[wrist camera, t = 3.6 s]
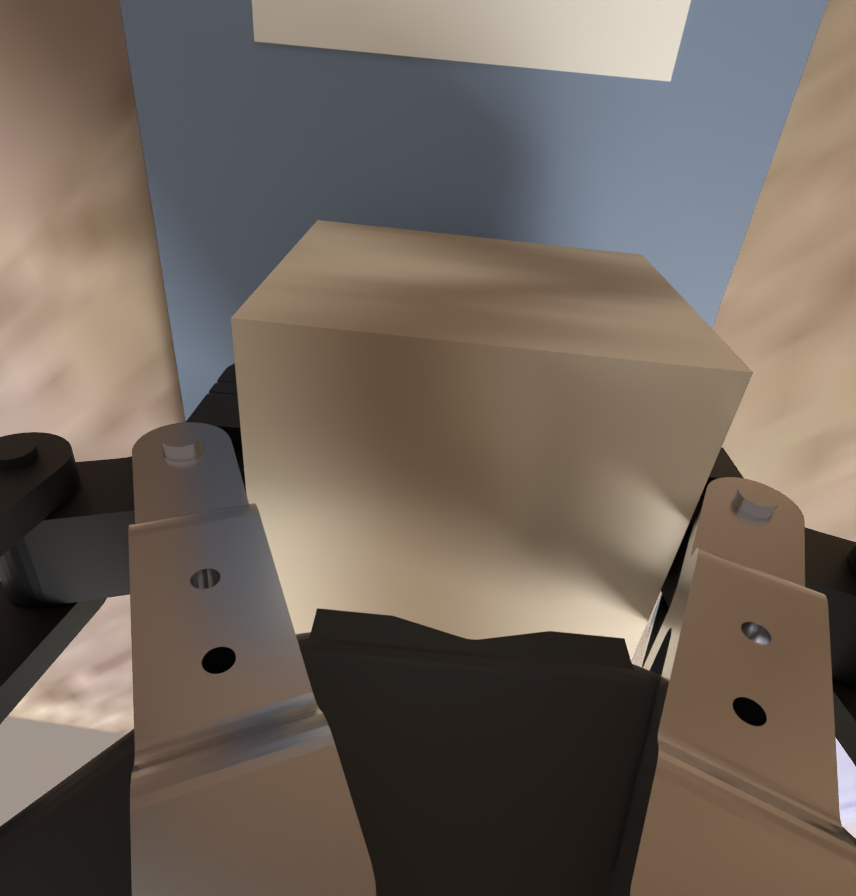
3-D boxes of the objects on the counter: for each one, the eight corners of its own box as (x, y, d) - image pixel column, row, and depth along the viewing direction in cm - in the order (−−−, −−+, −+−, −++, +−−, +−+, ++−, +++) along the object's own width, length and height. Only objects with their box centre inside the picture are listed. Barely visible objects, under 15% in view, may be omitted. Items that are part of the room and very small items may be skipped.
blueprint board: (1096, -873, 7) (1190, -1010, 6) (595, 616, 21) (602, 642, 20) (-5, -1025, 7) (-73, -1189, 6) (224, 588, 21) (214, 613, 20)
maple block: (642, 254, 11) (752, 372, 7) (571, 508, 14) (616, 694, 10) (317, 220, 11) (230, 317, 7) (319, 483, 14) (261, 659, 10)
